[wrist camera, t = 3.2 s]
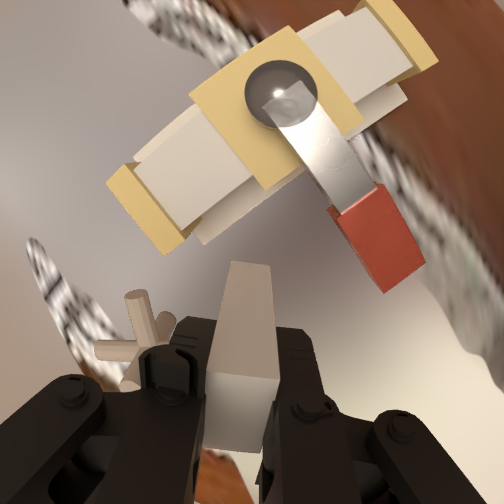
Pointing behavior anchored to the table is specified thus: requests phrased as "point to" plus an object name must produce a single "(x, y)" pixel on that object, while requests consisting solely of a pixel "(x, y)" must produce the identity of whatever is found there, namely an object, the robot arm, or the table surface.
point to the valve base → (258, 137)
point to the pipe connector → (137, 337)
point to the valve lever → (334, 170)
